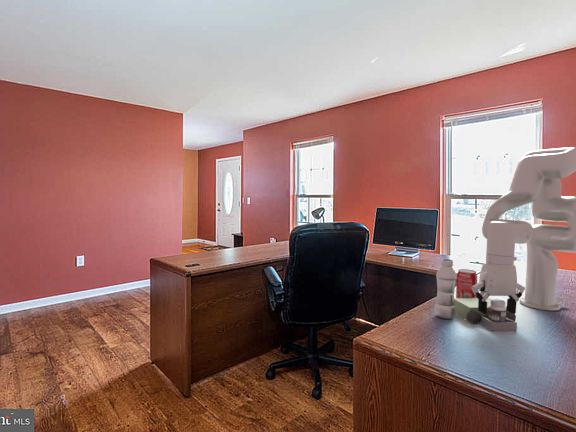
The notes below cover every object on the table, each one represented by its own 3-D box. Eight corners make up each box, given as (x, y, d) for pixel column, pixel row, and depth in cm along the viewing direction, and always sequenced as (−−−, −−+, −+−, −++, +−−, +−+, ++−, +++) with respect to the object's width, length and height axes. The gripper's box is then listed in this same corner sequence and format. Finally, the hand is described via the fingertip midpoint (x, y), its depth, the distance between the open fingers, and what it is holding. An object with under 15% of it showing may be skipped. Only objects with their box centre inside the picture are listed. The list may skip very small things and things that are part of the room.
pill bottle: (484, 324, 107) (485, 299, 106) (494, 322, 109) (495, 297, 108) (499, 329, 102) (500, 303, 102) (508, 327, 104) (510, 301, 104)
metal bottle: (453, 315, 115) (456, 259, 113) (456, 322, 108) (459, 262, 107) (433, 312, 117) (435, 257, 115) (435, 319, 110) (437, 261, 109)
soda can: (479, 307, 124) (481, 273, 123) (458, 305, 125) (460, 272, 124) (472, 301, 131) (474, 269, 130) (453, 300, 132) (454, 268, 131)
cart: (488, 309, 121) (489, 296, 120) (528, 330, 102) (529, 314, 102) (446, 310, 120) (447, 296, 119) (480, 331, 101) (481, 315, 101)
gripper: (516, 257, 109) (513, 308, 110) (466, 257, 107) (464, 308, 108) (534, 262, 101) (531, 316, 102) (481, 262, 100) (478, 316, 101)
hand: (496, 312), depth 105 cm, fingers open, 9 cm apart
